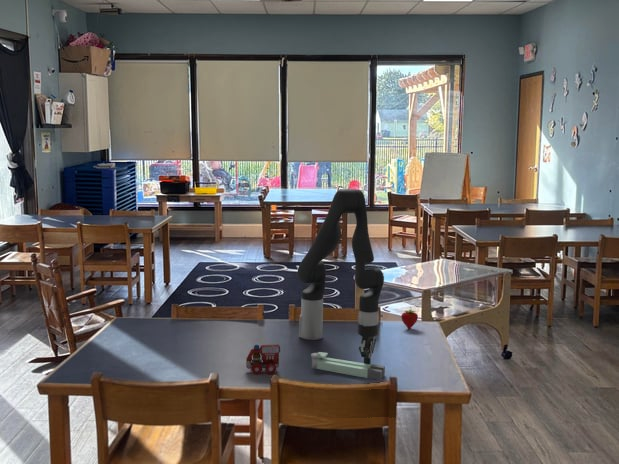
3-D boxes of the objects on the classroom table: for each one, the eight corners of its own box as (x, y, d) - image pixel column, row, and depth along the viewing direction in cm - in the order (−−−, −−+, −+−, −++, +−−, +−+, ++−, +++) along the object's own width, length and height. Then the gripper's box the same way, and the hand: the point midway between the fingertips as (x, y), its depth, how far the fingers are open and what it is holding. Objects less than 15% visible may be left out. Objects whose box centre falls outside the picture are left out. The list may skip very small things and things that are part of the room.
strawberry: (399, 326, 317) (400, 305, 316) (415, 326, 318) (416, 305, 316) (402, 330, 312) (403, 308, 310) (418, 330, 312) (420, 308, 311)
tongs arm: (309, 367, 264) (309, 355, 264) (314, 363, 269) (314, 351, 268) (380, 379, 254) (381, 366, 253) (384, 374, 259) (385, 362, 258)
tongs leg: (310, 368, 265) (310, 357, 264) (313, 365, 267) (313, 355, 267) (380, 380, 254) (380, 370, 253) (382, 378, 256) (382, 367, 256)
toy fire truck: (246, 367, 264) (246, 341, 262) (279, 367, 265) (279, 341, 263) (246, 374, 257) (246, 347, 255) (280, 374, 258) (280, 347, 256)
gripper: (364, 315, 268) (363, 359, 271) (352, 325, 256) (351, 370, 259) (383, 318, 265) (382, 362, 268) (372, 328, 253) (370, 374, 256)
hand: (367, 366), depth 263 cm, fingers closed
